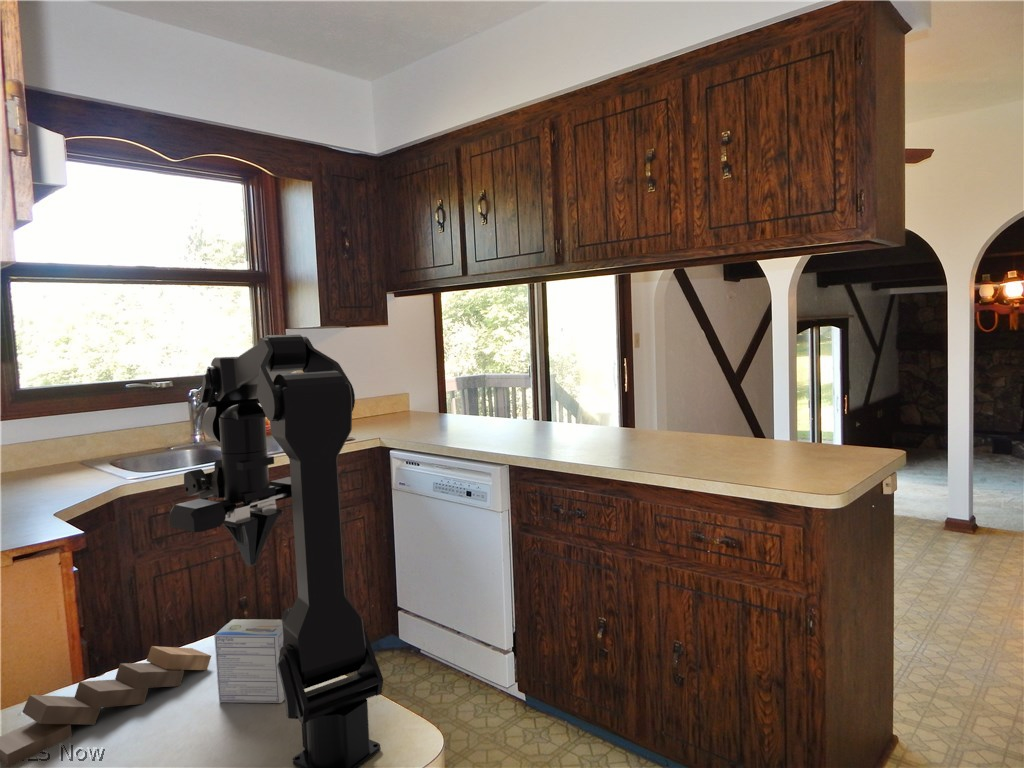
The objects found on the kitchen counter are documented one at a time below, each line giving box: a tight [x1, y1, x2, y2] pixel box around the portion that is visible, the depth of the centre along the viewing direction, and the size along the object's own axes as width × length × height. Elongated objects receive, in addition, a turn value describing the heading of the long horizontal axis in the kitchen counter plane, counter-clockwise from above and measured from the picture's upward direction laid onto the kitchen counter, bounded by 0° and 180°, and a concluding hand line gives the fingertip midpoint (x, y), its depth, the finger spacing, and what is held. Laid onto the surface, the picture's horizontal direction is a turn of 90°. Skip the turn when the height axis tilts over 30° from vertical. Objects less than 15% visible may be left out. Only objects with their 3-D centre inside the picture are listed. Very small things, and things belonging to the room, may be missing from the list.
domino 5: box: [146, 645, 212, 671], centre depth 87 cm, size 2×4×6 cm
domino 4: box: [114, 662, 185, 689], centre depth 83 cm, size 2×4×6 cm
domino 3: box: [73, 678, 149, 709], centre depth 79 cm, size 2×4×6 cm
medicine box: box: [214, 618, 285, 704], centre depth 81 cm, size 8×4×9 cm, turn 85°
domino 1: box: [21, 694, 102, 725], centre depth 75 cm, size 2×4×6 cm
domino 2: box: [0, 720, 73, 768], centre depth 73 cm, size 2×4×6 cm
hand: (251, 564), depth 90 cm, fingers closed
